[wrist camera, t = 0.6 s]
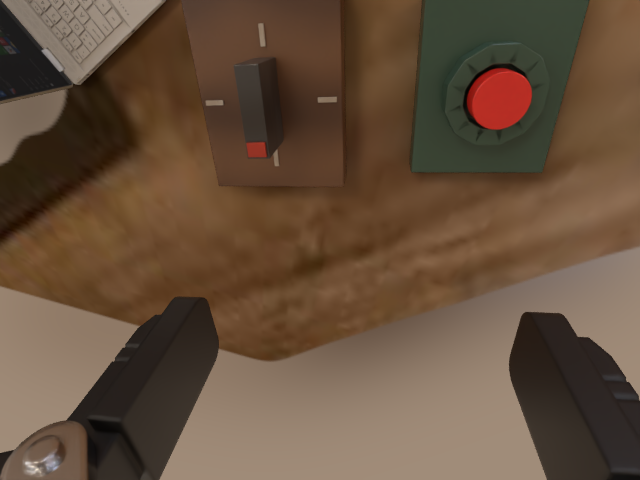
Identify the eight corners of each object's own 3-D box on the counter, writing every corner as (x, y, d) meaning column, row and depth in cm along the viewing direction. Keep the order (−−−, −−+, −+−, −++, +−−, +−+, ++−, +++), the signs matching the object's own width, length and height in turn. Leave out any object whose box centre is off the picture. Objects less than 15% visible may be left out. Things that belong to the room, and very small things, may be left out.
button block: (422, -1, 26) (428, -4, 22) (576, -11, 24) (608, -16, 21) (409, 163, 32) (412, 180, 29) (532, 163, 31) (551, 181, 27)
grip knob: (254, 57, 26) (231, 65, 22) (275, 56, 26) (257, 64, 22) (264, 140, 30) (246, 160, 26) (284, 140, 29) (269, 160, 25)
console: (197, -3, 28) (178, -5, 25) (343, -13, 26) (339, -16, 23) (230, 174, 35) (218, 187, 32) (346, 174, 33) (343, 188, 31)
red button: (471, 68, 24) (477, 72, 23) (528, 66, 24) (538, 70, 22) (462, 123, 26) (468, 130, 25) (516, 123, 26) (524, 129, 24)
